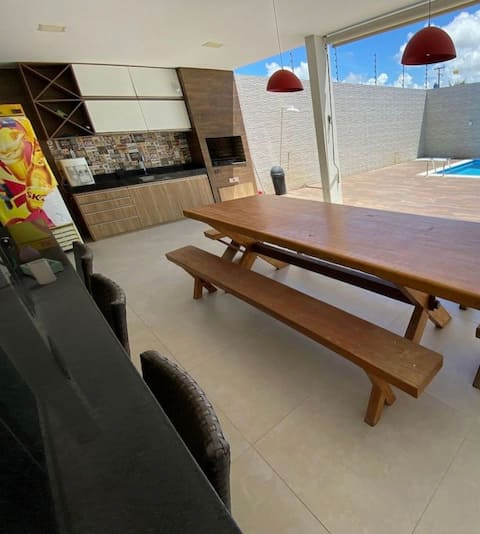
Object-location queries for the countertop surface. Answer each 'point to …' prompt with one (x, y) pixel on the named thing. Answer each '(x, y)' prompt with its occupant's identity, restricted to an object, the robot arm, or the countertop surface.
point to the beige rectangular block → (42, 271)
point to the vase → (29, 254)
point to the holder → (53, 264)
